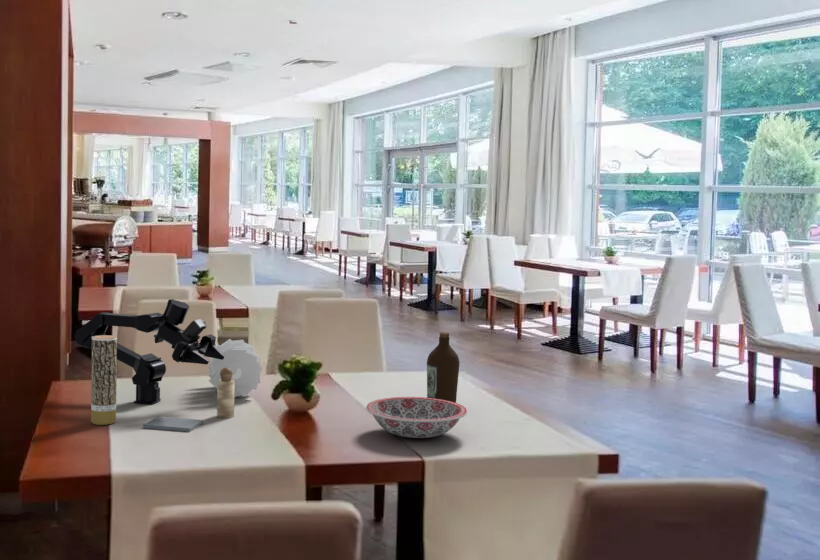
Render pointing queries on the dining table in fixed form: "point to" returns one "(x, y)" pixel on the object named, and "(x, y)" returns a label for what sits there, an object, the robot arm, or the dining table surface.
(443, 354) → the olive oil
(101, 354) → the paper tube
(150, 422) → the slate board
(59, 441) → the dining table surface
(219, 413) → the pepper mill
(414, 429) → the ceramic bowl
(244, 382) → the spiral staircase
